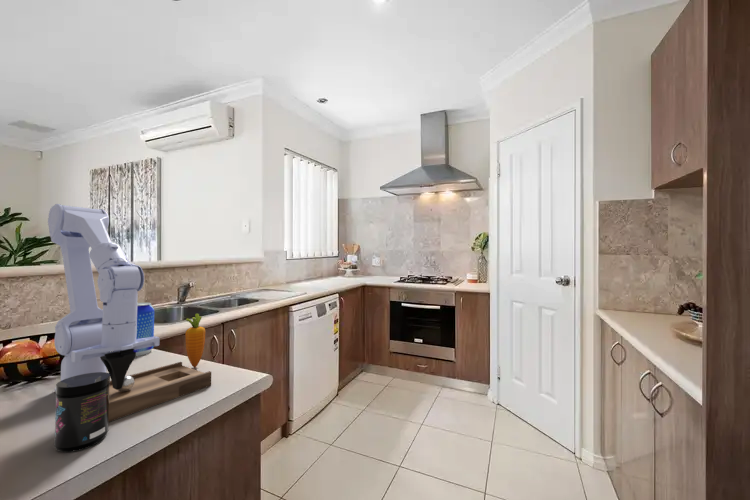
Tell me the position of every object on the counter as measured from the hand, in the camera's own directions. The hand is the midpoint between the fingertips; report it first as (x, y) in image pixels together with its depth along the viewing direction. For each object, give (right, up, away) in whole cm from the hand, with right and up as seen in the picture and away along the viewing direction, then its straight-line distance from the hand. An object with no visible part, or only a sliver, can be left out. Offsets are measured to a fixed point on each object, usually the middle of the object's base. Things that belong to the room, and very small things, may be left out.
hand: (118, 387), depth 66 cm
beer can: (-23, -5, +36) cm, 43 cm away
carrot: (+3, -5, +23) cm, 24 cm away
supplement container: (+5, -4, -13) cm, 14 cm away
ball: (0, 0, +1) cm, 1 cm away
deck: (+3, -4, +5) cm, 7 cm away
